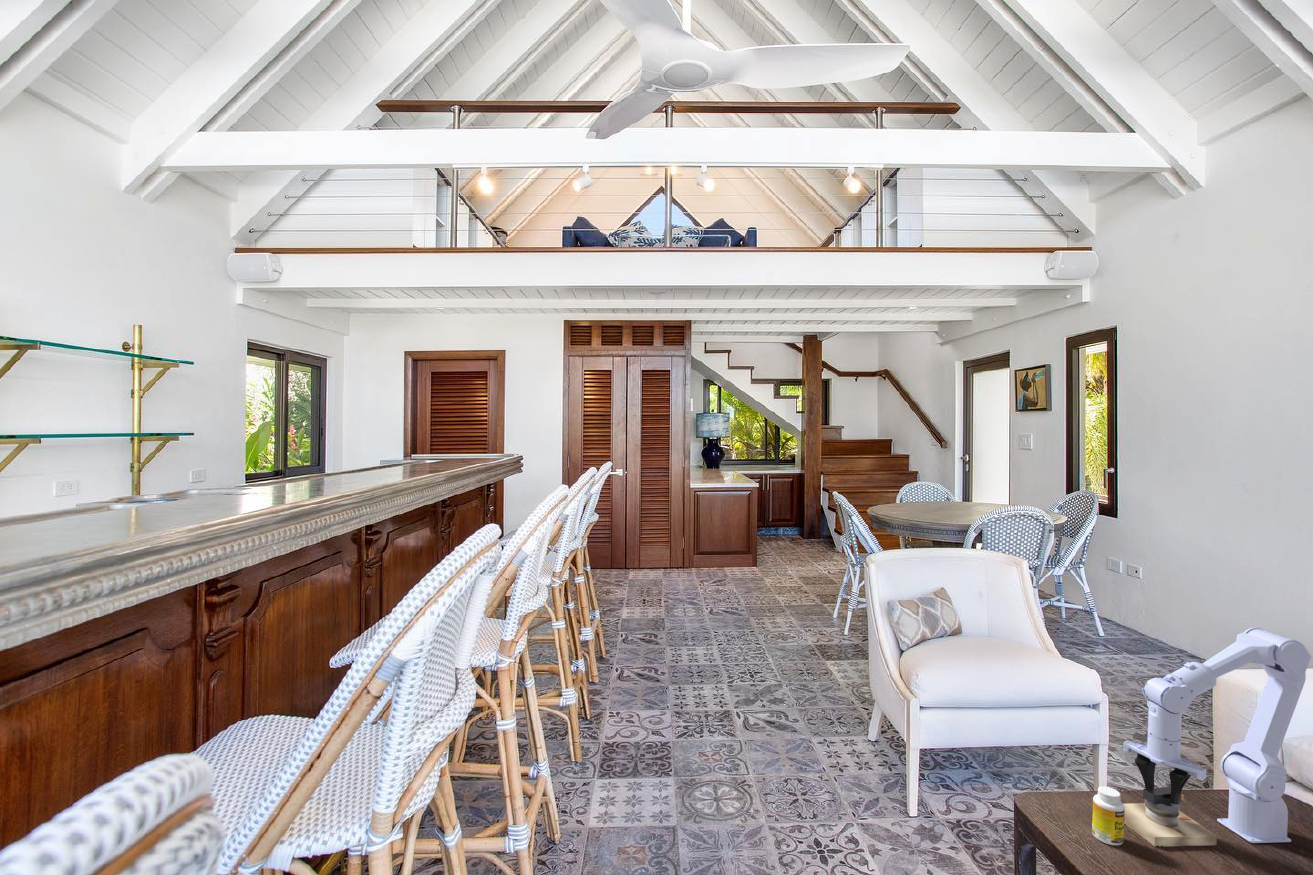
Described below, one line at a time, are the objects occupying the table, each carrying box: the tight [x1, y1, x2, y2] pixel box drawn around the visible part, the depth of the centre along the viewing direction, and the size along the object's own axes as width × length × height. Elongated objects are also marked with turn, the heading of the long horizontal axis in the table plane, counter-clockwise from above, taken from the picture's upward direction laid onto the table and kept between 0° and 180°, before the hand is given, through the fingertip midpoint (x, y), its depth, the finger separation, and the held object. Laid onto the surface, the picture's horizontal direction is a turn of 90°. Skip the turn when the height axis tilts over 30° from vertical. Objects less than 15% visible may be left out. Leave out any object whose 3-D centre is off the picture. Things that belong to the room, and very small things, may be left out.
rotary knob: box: [1142, 786, 1185, 817], centre depth 141 cm, size 6×8×4 cm
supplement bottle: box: [1091, 786, 1125, 846], centre depth 137 cm, size 6×6×10 cm
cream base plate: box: [1123, 802, 1218, 848], centre depth 141 cm, size 14×12×4 cm
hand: (1161, 796), depth 141 cm, fingers closed on rotary knob, 4 cm apart
